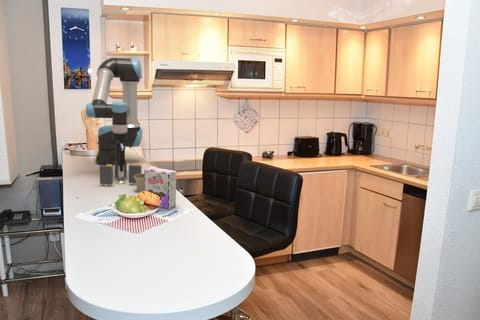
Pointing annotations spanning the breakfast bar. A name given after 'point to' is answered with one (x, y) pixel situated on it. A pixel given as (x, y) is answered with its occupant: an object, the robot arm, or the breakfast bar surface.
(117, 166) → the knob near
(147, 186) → the candy box
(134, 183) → the grey thin slab
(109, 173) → the dark grey upright block
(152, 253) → the breakfast bar surface
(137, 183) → the flower pot
